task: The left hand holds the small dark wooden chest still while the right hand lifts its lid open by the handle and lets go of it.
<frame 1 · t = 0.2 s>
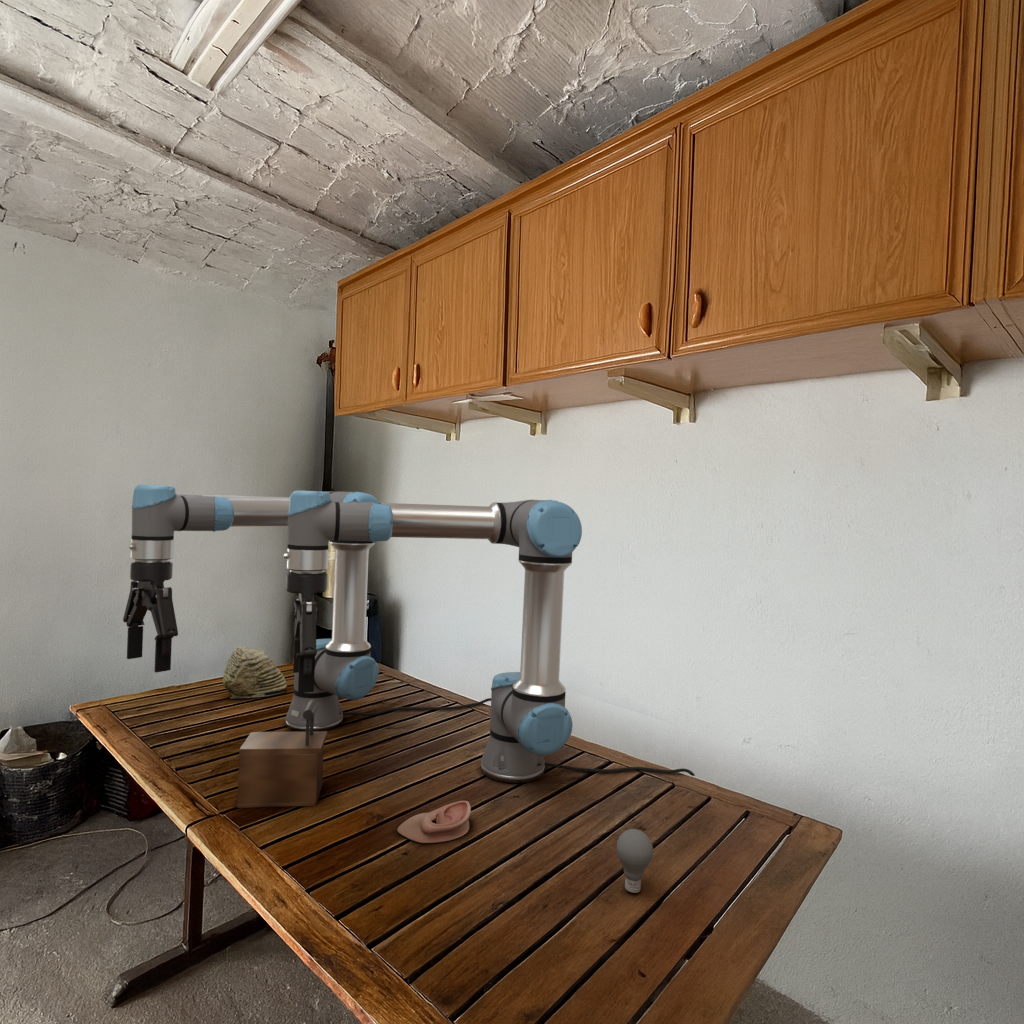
left hand: (148, 664, 129), 28 cm above the table, tool pointing down, fingers open, 13 cm apart
right hand: (302, 681, 122), 28 cm above the table, tool pointing down, fingers open, 13 cm apart
chest: (281, 796, 133), on the table
lid: (285, 725, 133), point 15 cm above the table, hinge at 0.0°
anatomical model: (434, 829, 123), on the table
fossil: (254, 694, 198), on the table
light bulb: (632, 891, 106), on the table
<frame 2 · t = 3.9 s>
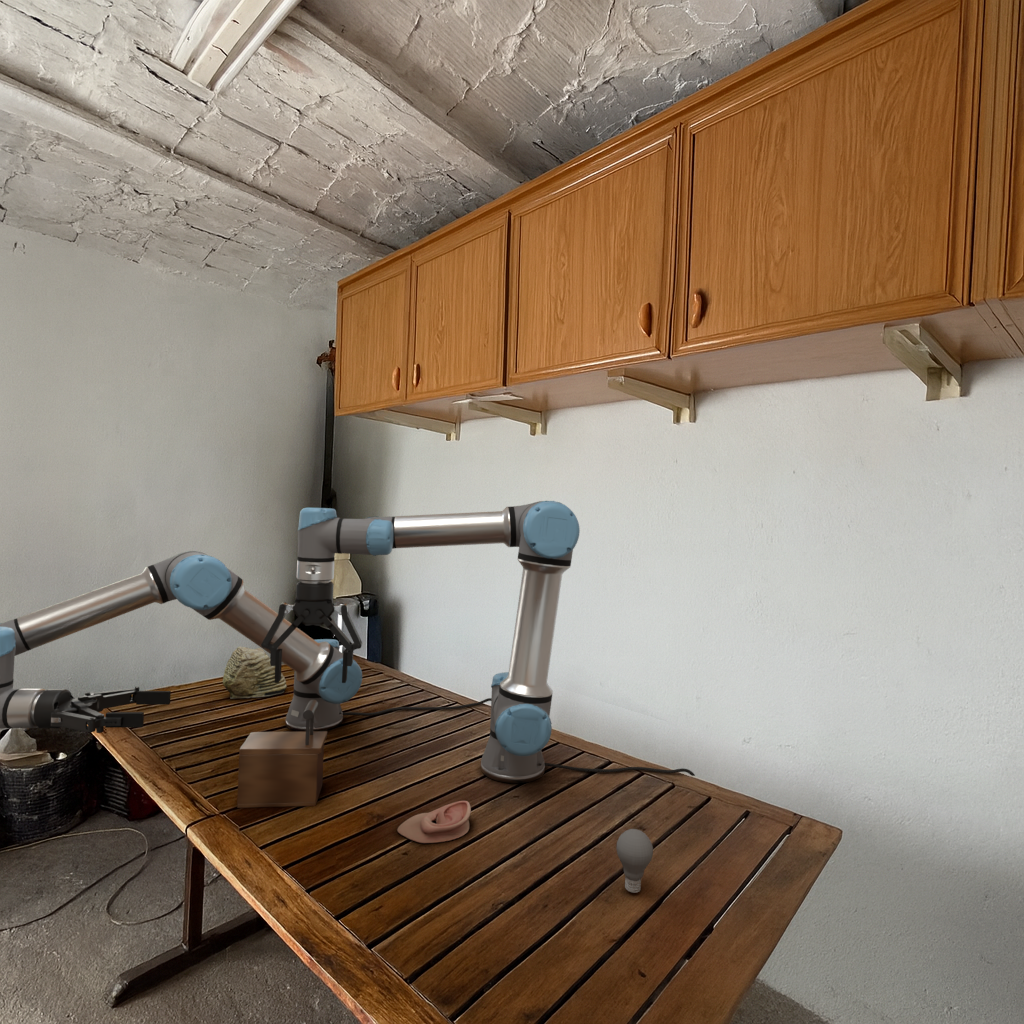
left hand: (157, 708, 129), 19 cm above the table, tool horizontal, fingers open, 13 cm apart
right hand: (311, 681, 134), 24 cm above the table, tool pointing down, fingers open, 13 cm apart
nothing on the table moved.
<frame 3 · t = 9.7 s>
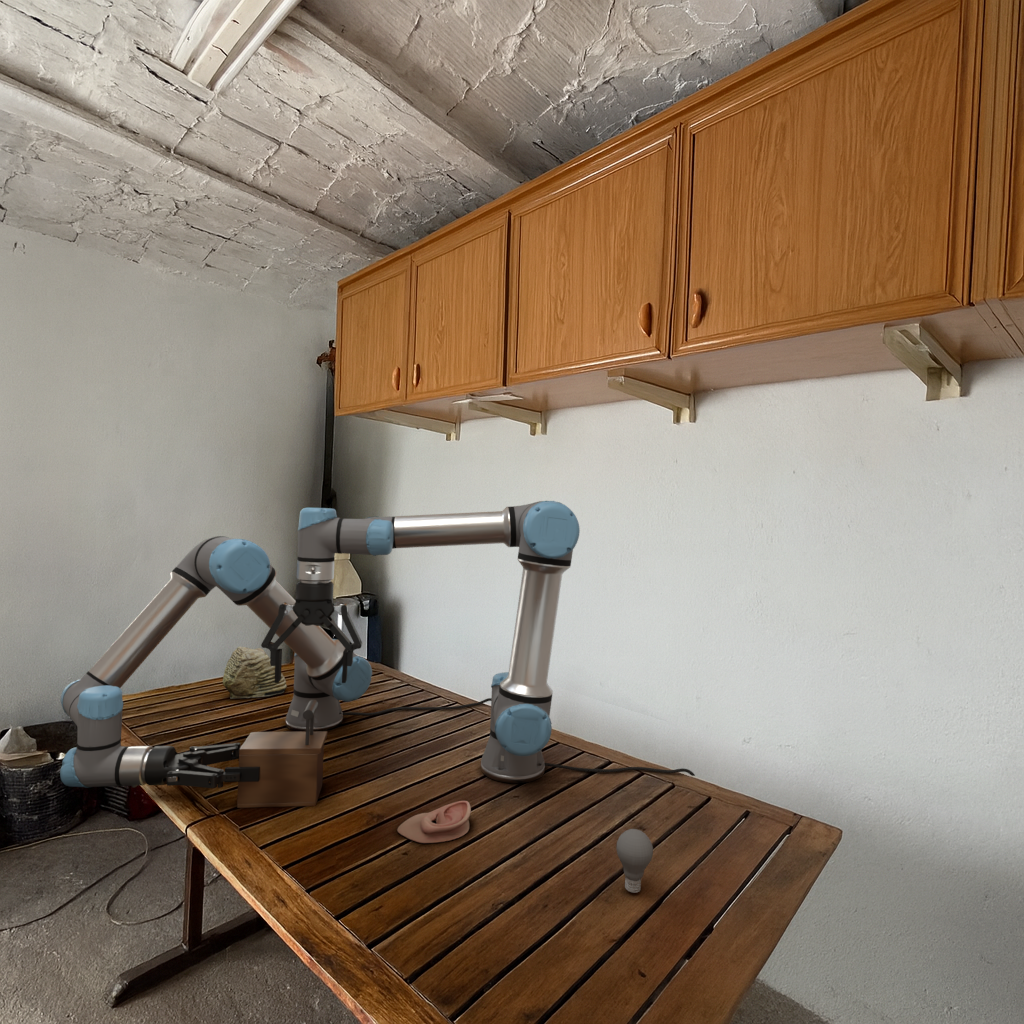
left hand: (265, 763, 133), 7 cm above the table, tool horizontal, fingers closed on chest, 9 cm apart
right hand: (311, 681, 134), 24 cm above the table, tool pointing down, fingers open, 13 cm apart
chest: (281, 796, 133), on the table, touching left hand
everything else where it was.
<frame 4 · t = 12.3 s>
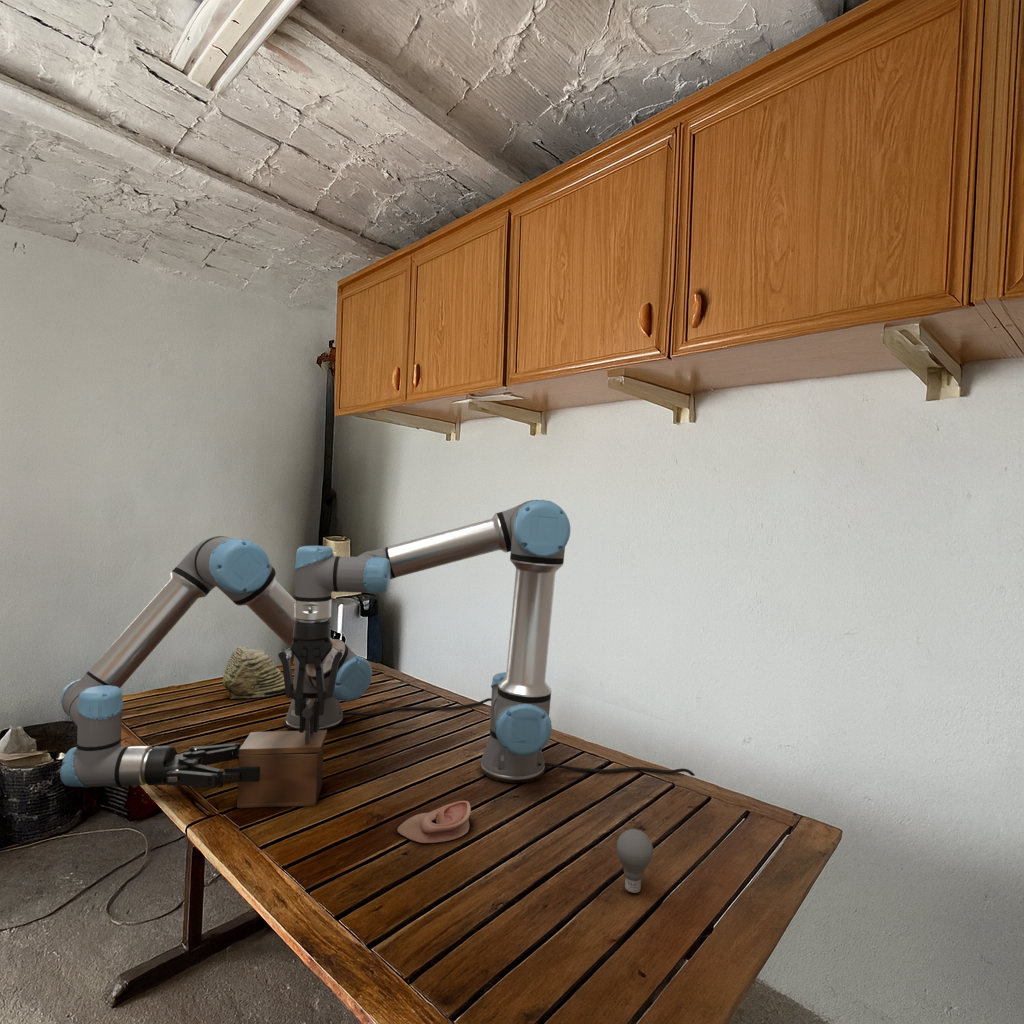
left hand: (264, 763, 133), 7 cm above the table, tool horizontal, fingers closed on chest, 9 cm apart
right hand: (309, 730, 134), 14 cm above the table, tool pointing down, fingers closed on lid, 2 cm apart
chest: (281, 796, 133), on the table, touching left hand
lid: (285, 724, 133), point 15 cm above the table, hinge at 1.1°, touching right hand
everything else where it was.
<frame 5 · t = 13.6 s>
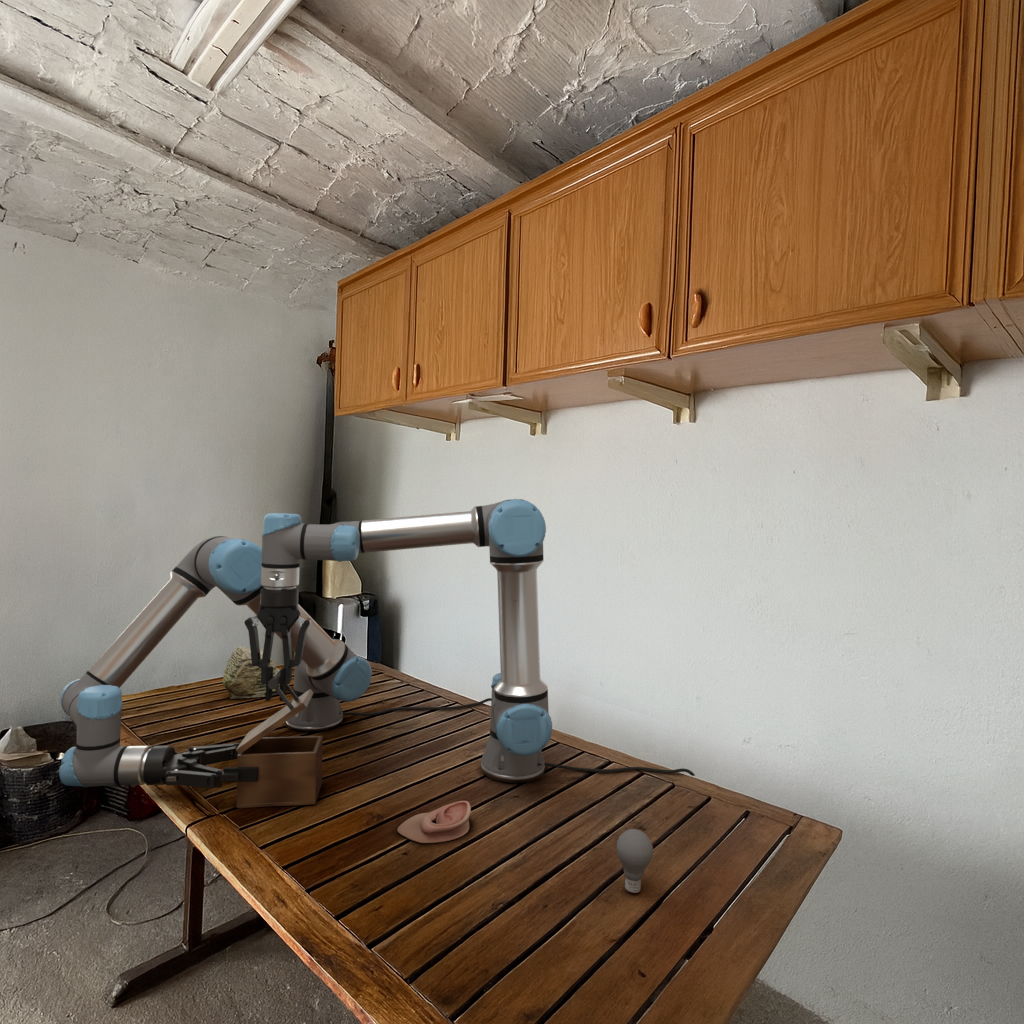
left hand: (263, 763, 133), 7 cm above the table, tool horizontal, fingers closed on chest, 9 cm apart
right hand: (275, 698, 133), 21 cm above the table, tool pointing down, fingers closed on lid, 2 cm apart
chest: (281, 795, 133), on the table, touching left hand
lid: (265, 706, 132), point 19 cm above the table, hinge at 35.7°, touching right hand
everything else where it was.
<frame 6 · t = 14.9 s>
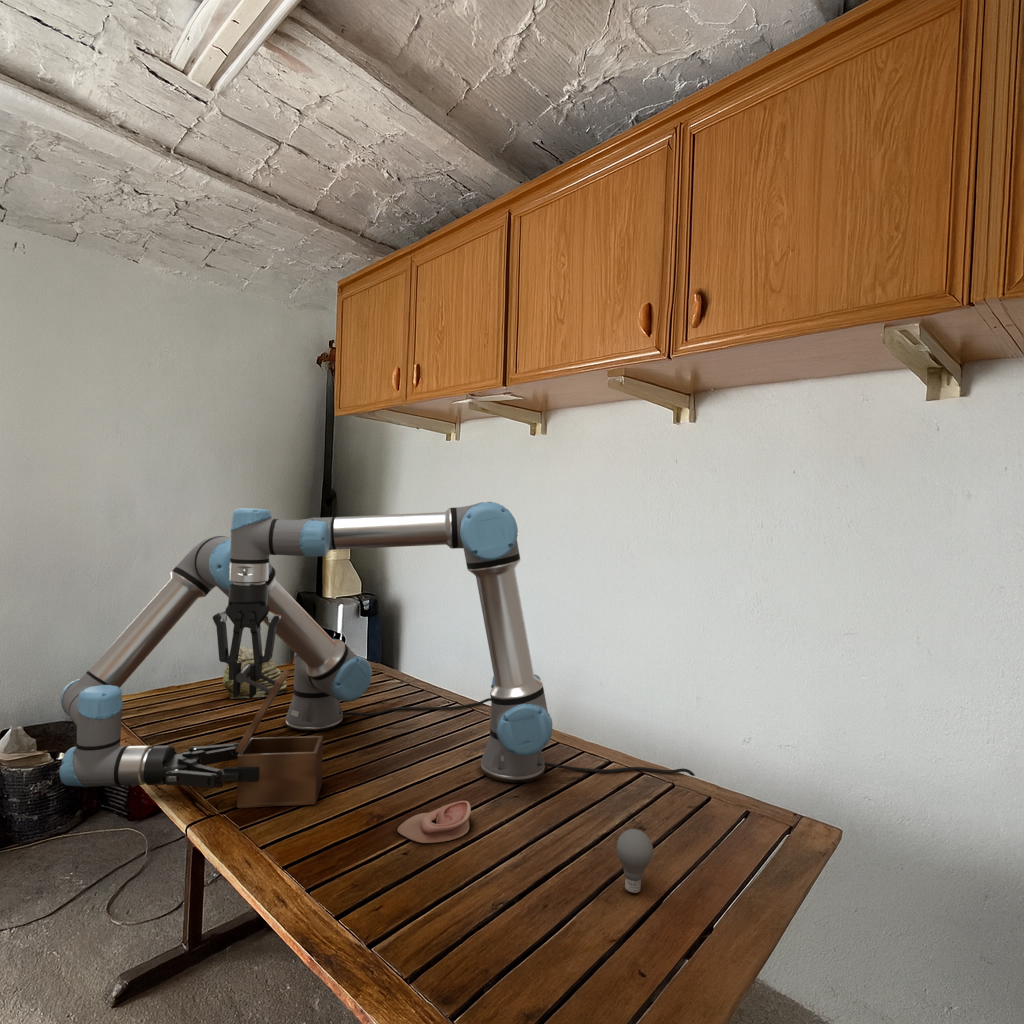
left hand: (264, 763, 133), 7 cm above the table, tool horizontal, fingers closed on chest, 9 cm apart
right hand: (244, 695, 132), 21 cm above the table, tool pointing down, fingers open, 2 cm apart
chest: (281, 795, 133), on the table, touching left hand
lid: (247, 701, 132), point 20 cm above the table, hinge at 61.2°
everything else where it was.
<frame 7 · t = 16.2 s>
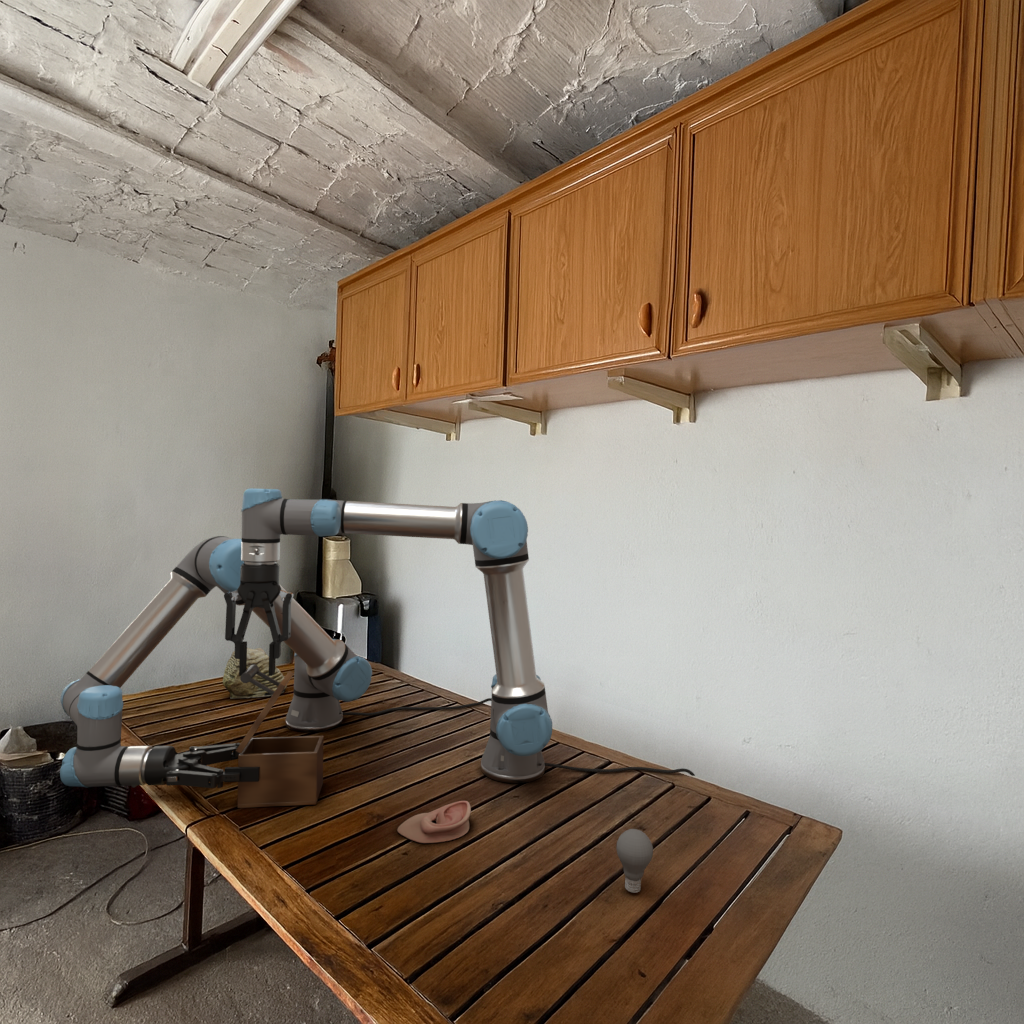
left hand: (264, 763, 133), 7 cm above the table, tool horizontal, fingers closed on chest, 9 cm apart
right hand: (257, 673, 132), 26 cm above the table, tool pointing down, fingers open, 5 cm apart
chest: (282, 795, 133), on the table, touching left hand
lid: (250, 701, 132), point 20 cm above the table, hinge at 58.1°
everything else where it was.
when the left hand's fingers open (7 cm above the table, at t = 19.1 s): chest stays where it is, on the table.
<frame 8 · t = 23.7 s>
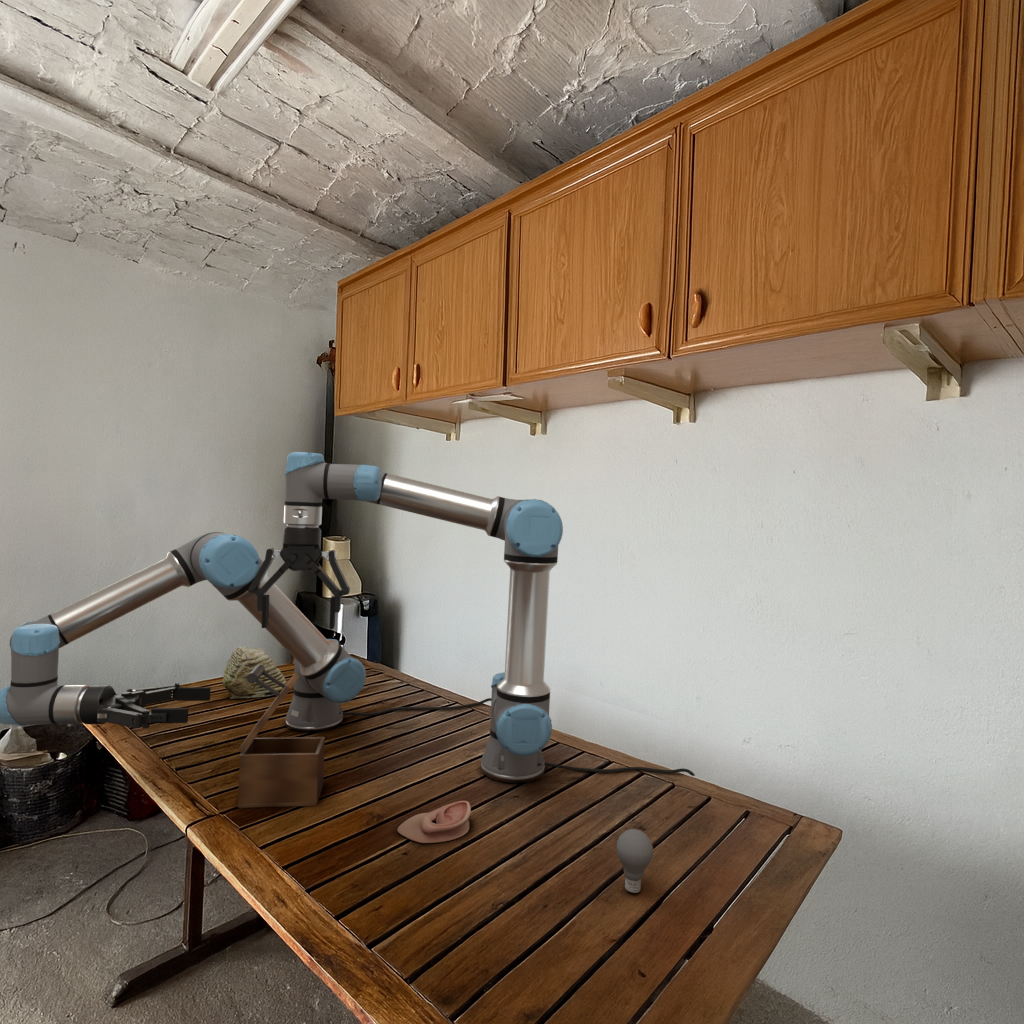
left hand: (199, 704, 130), 20 cm above the table, tool horizontal, fingers open, 13 cm apart
right hand: (298, 627, 133), 36 cm above the table, tool pointing down, fingers open, 13 cm apart
chest: (282, 796, 133), on the table
lid: (254, 701, 132), point 20 cm above the table, hinge at 55.8°
everything else where it was.
at the end: lid at +56° (first picture: +0°); the left hand is holding nothing; the right hand is holding nothing; chest tilted 0°; chest never tilted more than 2° during the clip; chest moved 0.2 cm from its start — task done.
